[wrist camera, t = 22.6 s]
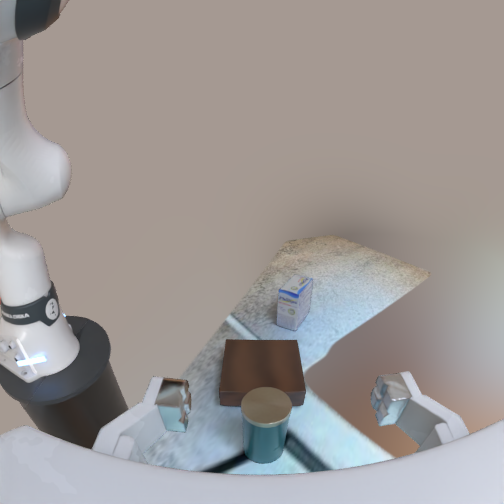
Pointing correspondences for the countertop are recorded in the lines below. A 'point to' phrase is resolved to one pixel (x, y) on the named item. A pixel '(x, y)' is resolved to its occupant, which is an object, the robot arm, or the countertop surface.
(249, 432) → the teal canister
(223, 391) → the walnut platform
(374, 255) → the countertop surface
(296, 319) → the medicine box
